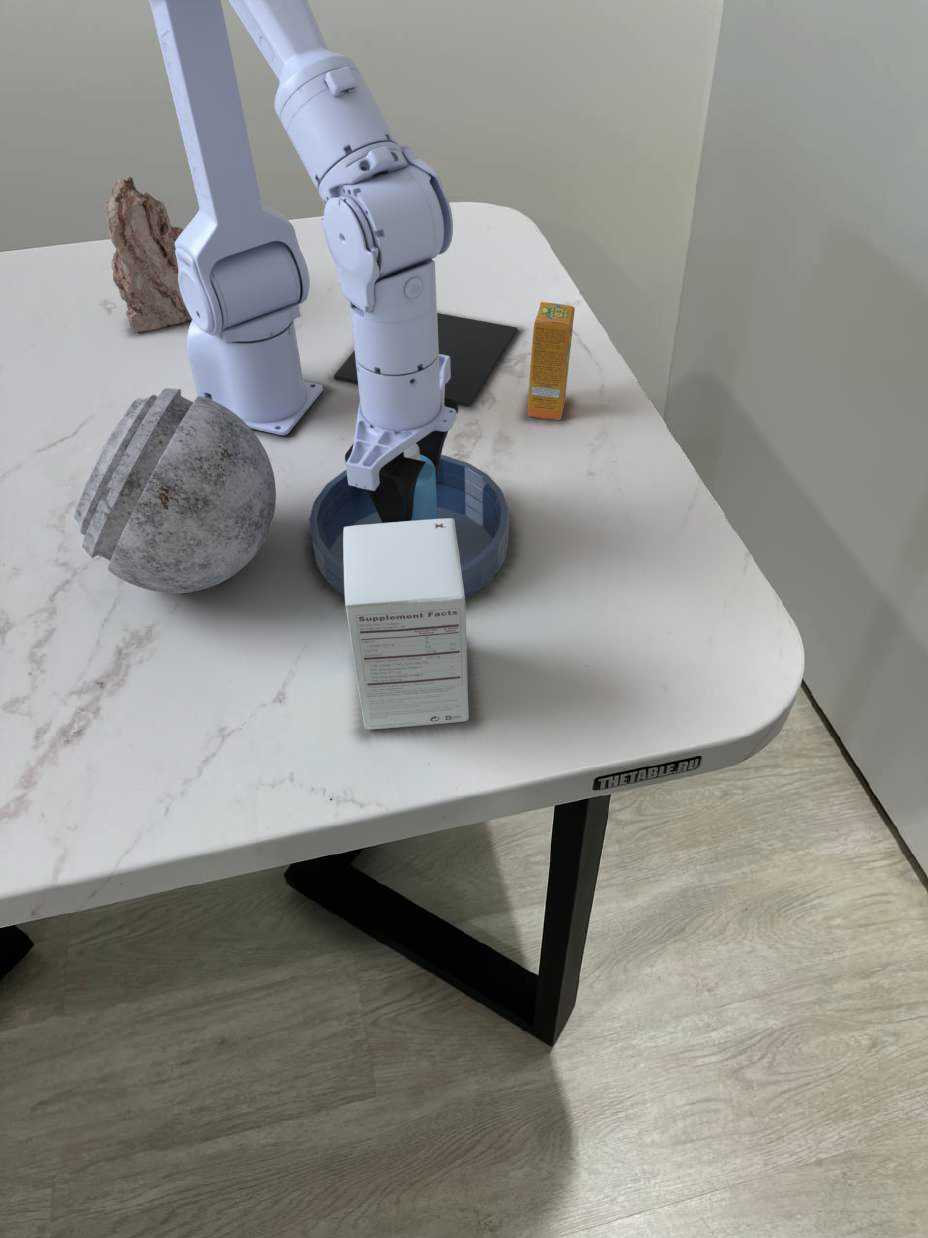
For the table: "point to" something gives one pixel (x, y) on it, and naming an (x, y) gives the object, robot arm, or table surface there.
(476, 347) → the mat
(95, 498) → the decorative orb
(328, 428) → the table surface
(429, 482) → the bottle
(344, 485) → the bowl
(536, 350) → the supplement box
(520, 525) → the table surface
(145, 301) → the stone
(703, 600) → the table surface
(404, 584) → the white packaging box
